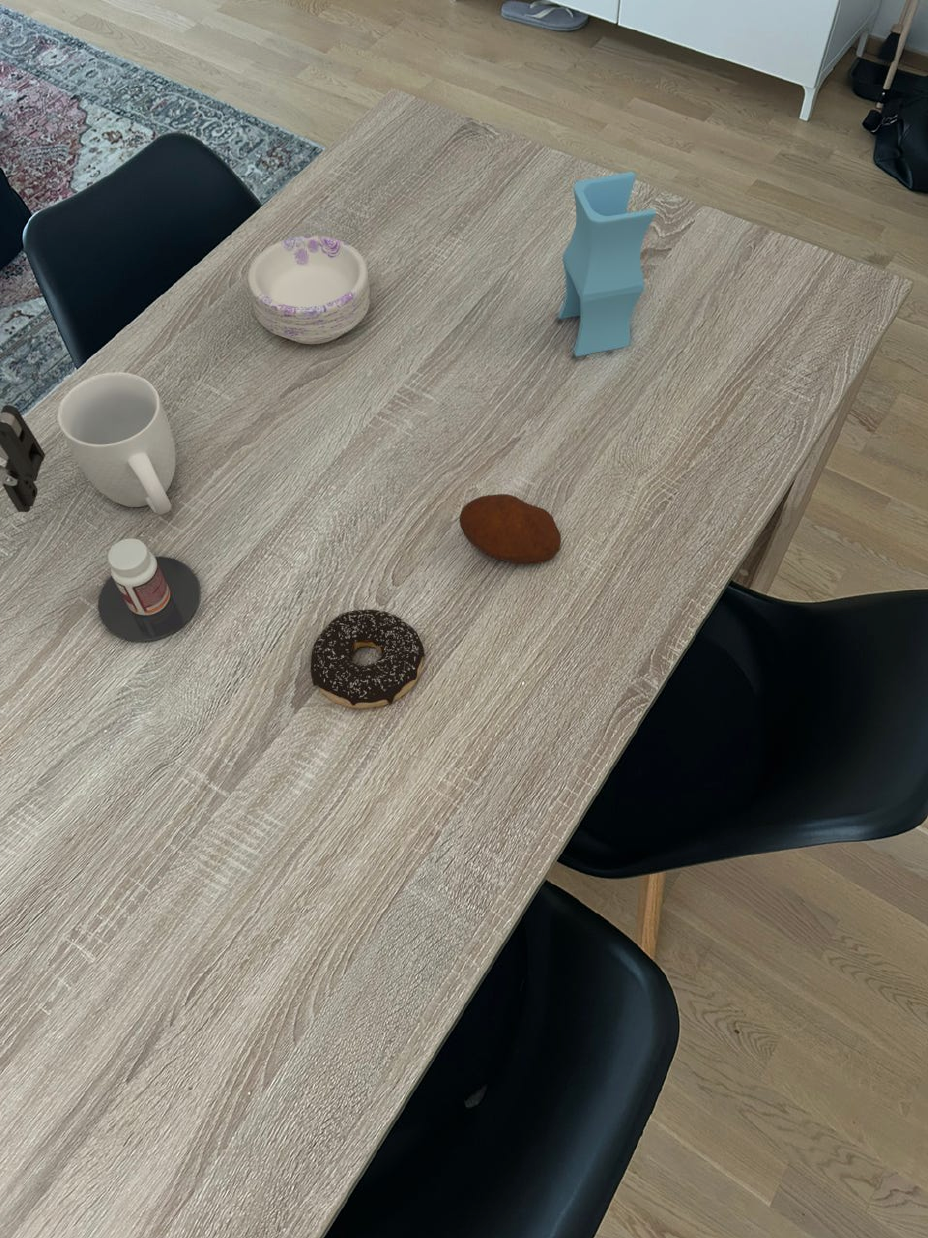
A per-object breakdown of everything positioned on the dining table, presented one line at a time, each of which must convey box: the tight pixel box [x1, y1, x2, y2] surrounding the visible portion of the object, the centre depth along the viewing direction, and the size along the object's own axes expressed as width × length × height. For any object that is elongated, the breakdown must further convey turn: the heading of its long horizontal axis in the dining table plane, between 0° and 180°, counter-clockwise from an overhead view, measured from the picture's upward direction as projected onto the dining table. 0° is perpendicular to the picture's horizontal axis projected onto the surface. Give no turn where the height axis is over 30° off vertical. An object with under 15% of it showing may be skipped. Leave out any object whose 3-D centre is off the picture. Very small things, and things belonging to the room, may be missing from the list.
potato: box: [458, 493, 562, 565], centre depth 114 cm, size 8×12×8 cm, turn 78°
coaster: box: [97, 556, 201, 643], centre depth 114 cm, size 11×11×1 cm
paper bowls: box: [247, 235, 371, 345], centre depth 134 cm, size 15×15×8 cm
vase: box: [557, 171, 657, 357], centre depth 128 cm, size 8×8×20 cm
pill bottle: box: [107, 537, 170, 615], centre depth 110 cm, size 5×5×8 cm
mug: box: [56, 371, 177, 516], centre depth 116 cm, size 15×11×13 cm
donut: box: [310, 609, 426, 710], centre depth 108 cm, size 11×12×4 cm
